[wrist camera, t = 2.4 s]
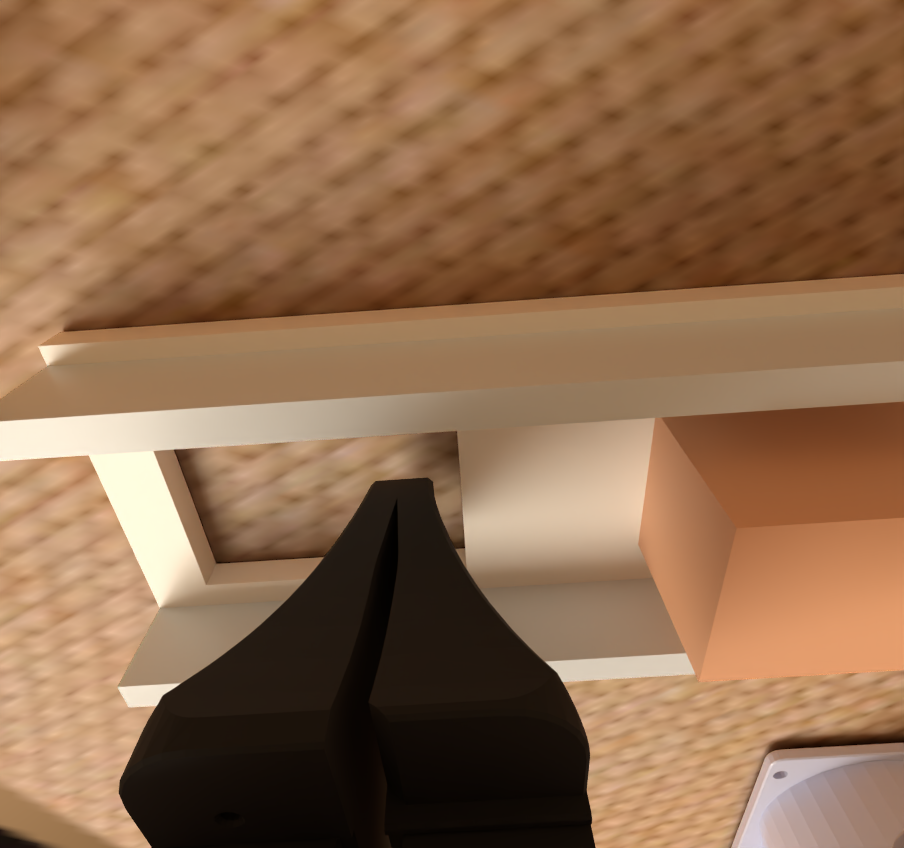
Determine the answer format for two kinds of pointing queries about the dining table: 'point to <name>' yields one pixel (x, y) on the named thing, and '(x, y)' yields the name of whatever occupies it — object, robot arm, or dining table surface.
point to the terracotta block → (780, 539)
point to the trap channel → (478, 430)
